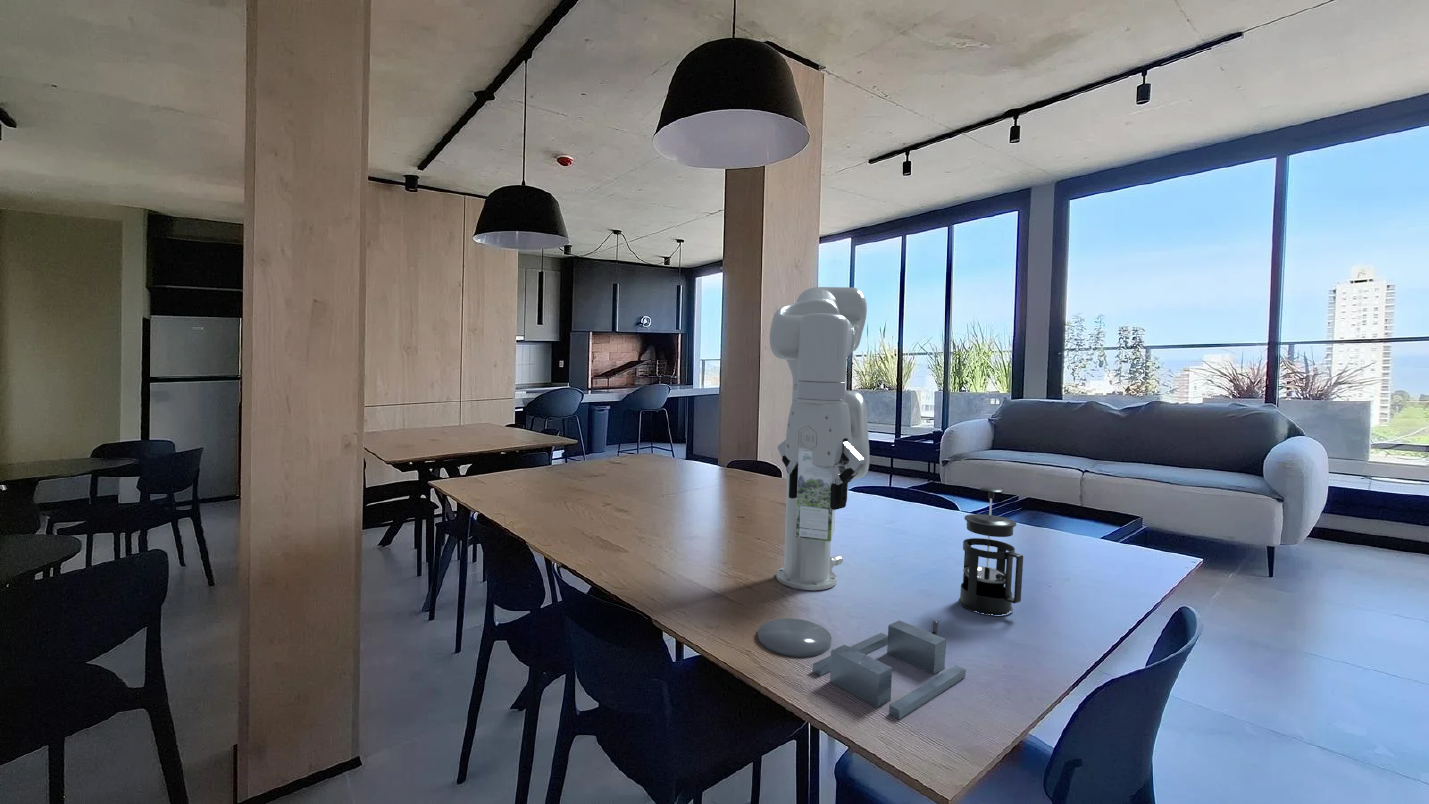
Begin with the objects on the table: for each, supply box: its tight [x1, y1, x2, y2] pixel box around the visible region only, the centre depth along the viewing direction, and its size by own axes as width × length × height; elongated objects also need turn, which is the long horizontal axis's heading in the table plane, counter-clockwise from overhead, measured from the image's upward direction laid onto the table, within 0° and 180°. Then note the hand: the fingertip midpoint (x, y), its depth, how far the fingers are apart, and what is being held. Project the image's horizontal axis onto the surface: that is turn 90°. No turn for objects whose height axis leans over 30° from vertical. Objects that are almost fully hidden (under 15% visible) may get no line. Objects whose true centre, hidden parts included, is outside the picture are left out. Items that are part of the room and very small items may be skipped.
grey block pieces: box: [812, 619, 967, 720], centre depth 86 cm, size 21×14×5 cm
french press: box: [958, 486, 1024, 615], centre depth 110 cm, size 12×9×23 cm
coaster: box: [757, 617, 832, 658], centre depth 95 cm, size 12×12×1 cm
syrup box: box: [796, 447, 836, 542], centre depth 92 cm, size 6×6×14 cm
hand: (816, 501), depth 92 cm, fingers closed on syrup box, 7 cm apart
